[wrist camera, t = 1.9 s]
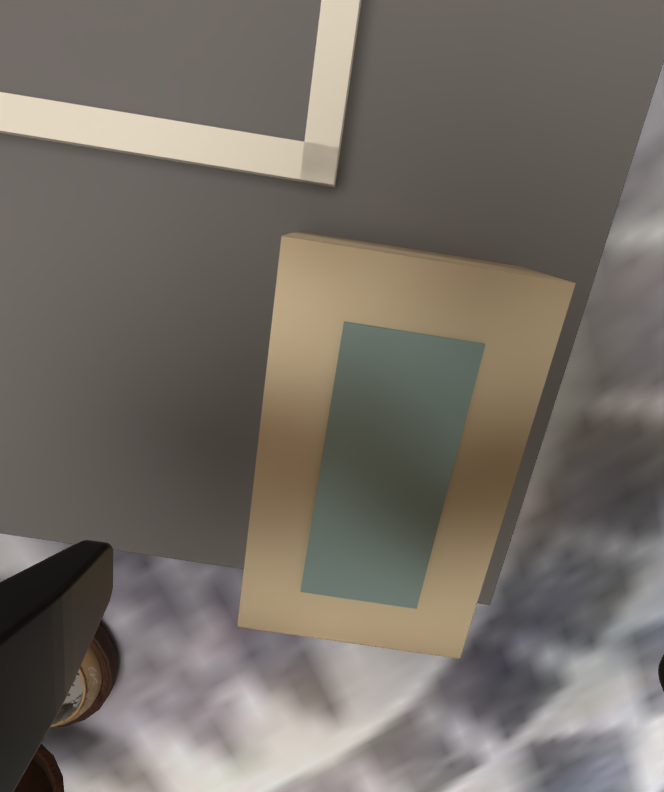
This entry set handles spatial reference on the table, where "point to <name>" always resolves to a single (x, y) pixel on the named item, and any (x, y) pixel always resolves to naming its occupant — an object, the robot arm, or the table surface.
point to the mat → (267, 218)
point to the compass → (75, 710)
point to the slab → (390, 438)
